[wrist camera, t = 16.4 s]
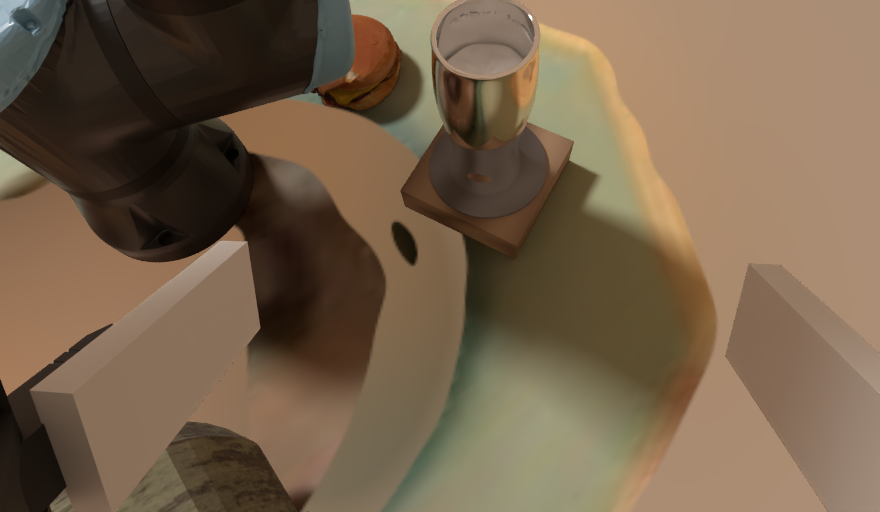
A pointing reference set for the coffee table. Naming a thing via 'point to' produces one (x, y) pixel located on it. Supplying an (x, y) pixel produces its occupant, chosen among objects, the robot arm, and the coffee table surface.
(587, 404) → the coffee table surface
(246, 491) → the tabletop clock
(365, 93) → the burger
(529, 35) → the silver metal cup
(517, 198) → the walnut plinth
